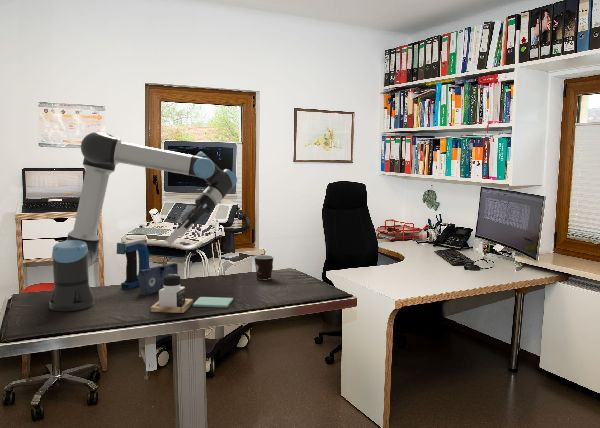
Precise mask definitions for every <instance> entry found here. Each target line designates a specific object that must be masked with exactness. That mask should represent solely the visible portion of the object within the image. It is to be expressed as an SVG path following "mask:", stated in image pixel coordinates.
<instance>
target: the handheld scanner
mask: <svg viewBox="0 0 600 428" xmlns="http://www.w3.org/2000/svg"><path fill="white" fill-rule="evenodd" d="M147 242H148V241H147V239H146V238H139V239H134V240H130V241H127V242H117V243H116V254H117V255H125V257H126V264H125V265H126V267H125V277H126V278H125V280H124V281H123V282H121V284H120V286H121V287H120V288H121V289H123V290H133V289H134V288H137V286H138V287H140V286H139V272H138V271H139V270H143V269H149V268H150V255H149V248H148V246H147ZM137 254H138V258H137Z"/></svg>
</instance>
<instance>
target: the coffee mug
mask: <svg viewBox="0 0 600 428" xmlns="http://www.w3.org/2000/svg"><path fill="white" fill-rule="evenodd" d="M273 262H274V256H273V255H265V254H263V255H262V254H261V255H256V256H254V264H255V265H254V267H255V275H256V279H257V278H259V279H268V278H271V279H272V274H273V272H272V271H273V268H274V265H273Z"/></svg>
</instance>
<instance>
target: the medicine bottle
mask: <svg viewBox="0 0 600 428" xmlns="http://www.w3.org/2000/svg"><path fill="white" fill-rule="evenodd" d="M163 285H164V288H163V289H161V290H159V291H158V301H159V307H182V306H183V305H184V304H185V299H186V287H185V286H181V276H180V275H179V274H178V275H176V274H171V275H166V276H164V278H163Z"/></svg>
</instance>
